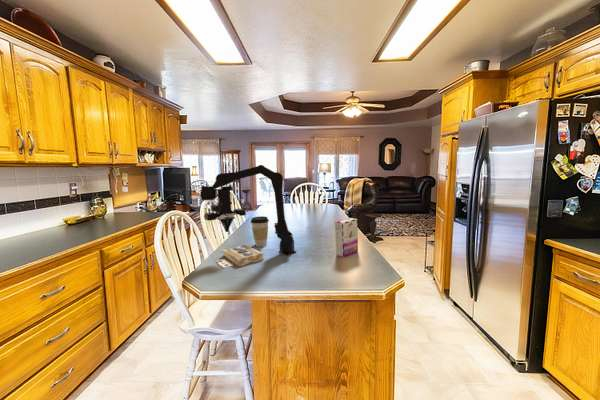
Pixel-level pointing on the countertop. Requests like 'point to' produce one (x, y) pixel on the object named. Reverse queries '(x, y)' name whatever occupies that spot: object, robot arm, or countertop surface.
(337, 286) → the countertop surface
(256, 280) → the countertop surface
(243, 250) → the button middle
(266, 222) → the coffee cup
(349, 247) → the candy bar box
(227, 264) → the card
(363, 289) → the countertop surface
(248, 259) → the button board
